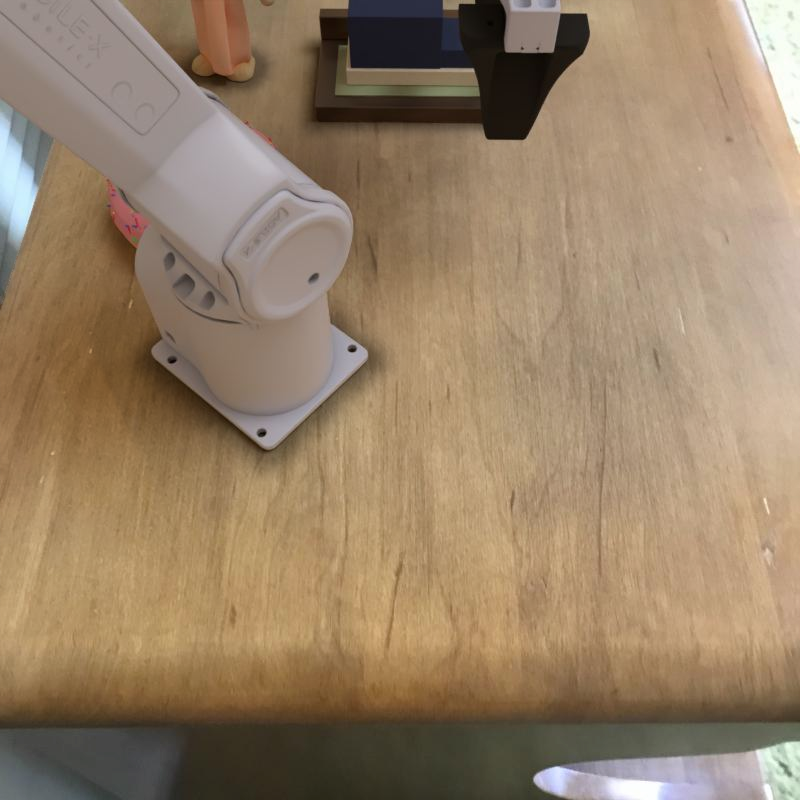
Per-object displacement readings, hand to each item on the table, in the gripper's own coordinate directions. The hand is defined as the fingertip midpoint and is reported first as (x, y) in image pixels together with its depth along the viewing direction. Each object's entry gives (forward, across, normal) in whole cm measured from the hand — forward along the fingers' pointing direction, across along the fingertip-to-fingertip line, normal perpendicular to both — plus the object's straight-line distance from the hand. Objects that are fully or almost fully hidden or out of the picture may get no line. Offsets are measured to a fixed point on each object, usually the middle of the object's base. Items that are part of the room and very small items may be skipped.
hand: (501, 84), depth 44 cm
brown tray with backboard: (+9, +12, +5) cm, 16 cm away
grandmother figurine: (+10, +13, +18) cm, 24 cm away
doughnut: (+10, 0, +18) cm, 20 cm away
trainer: (+8, +12, +5) cm, 15 cm away
